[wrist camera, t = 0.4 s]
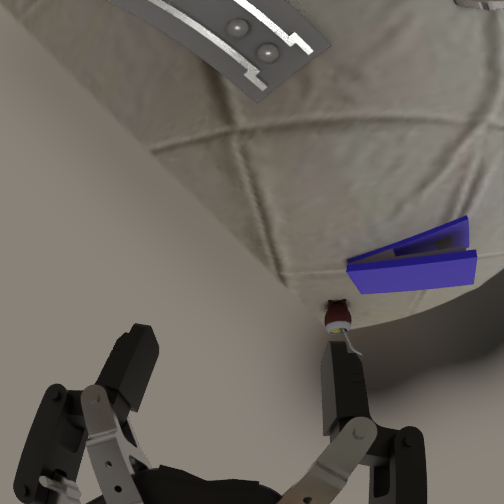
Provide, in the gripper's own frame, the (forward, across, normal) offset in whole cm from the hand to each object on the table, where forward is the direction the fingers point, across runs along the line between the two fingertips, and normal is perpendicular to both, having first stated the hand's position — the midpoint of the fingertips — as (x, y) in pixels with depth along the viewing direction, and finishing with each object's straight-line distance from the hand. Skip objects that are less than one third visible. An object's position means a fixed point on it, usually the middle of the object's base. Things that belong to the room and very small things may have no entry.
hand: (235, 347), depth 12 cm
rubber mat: (+24, +7, -22) cm, 33 cm away
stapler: (+38, -30, +18) cm, 52 cm away
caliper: (+21, -32, -33) cm, 50 cm away
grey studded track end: (+25, +2, -18) cm, 30 cm away
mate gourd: (+45, -19, +40) cm, 63 cm away
